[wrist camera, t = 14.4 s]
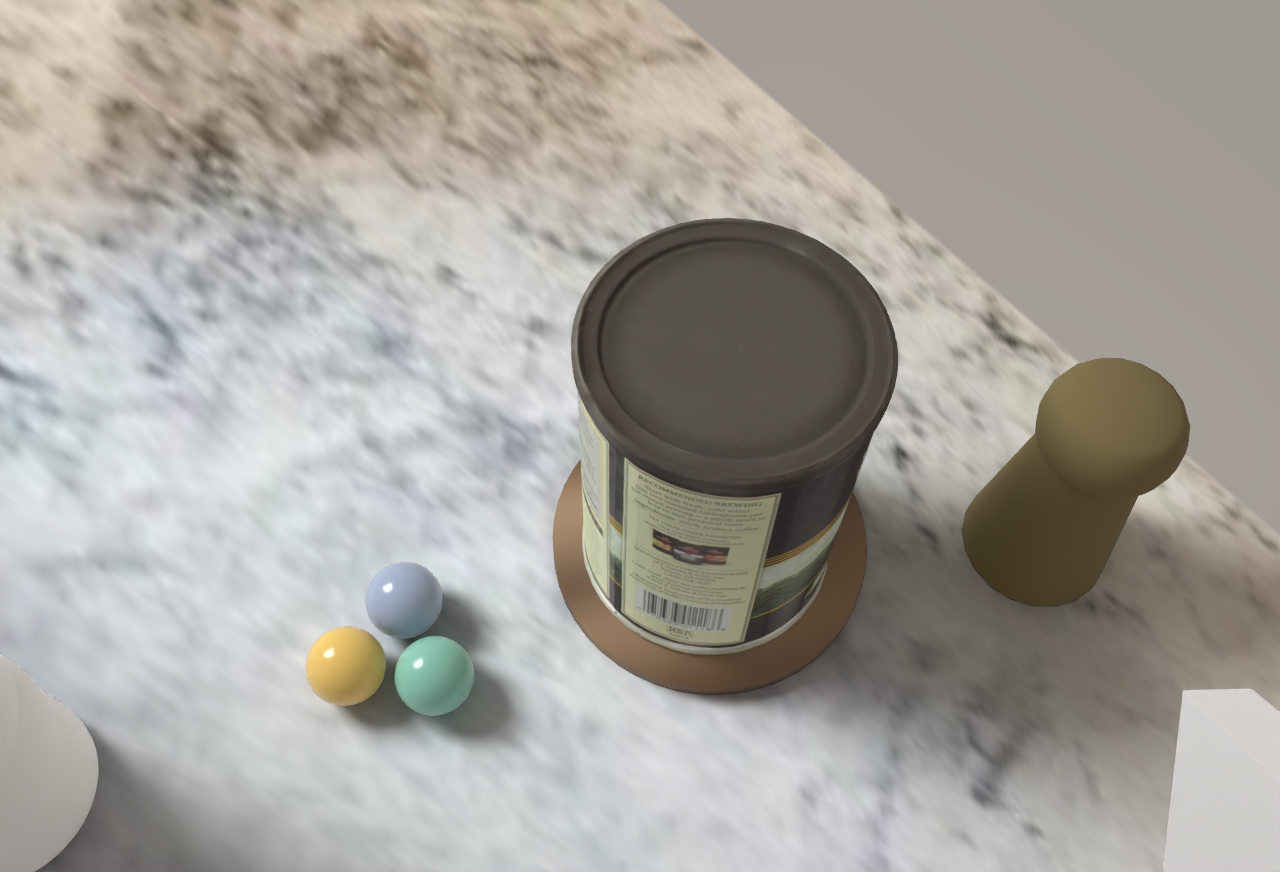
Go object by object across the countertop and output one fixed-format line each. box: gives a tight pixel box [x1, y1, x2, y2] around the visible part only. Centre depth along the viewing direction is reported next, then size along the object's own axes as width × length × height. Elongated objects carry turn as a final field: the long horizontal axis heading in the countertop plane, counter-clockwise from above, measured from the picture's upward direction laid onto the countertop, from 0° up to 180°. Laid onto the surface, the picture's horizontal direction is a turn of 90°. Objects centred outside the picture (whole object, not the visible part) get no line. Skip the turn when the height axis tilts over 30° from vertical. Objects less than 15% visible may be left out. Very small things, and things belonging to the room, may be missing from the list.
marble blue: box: [365, 562, 443, 639], centre depth 48 cm, size 3×3×3 cm
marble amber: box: [306, 626, 386, 706], centre depth 46 cm, size 3×3×3 cm
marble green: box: [395, 636, 474, 716], centre depth 46 cm, size 3×3×3 cm
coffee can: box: [571, 218, 898, 655], centre depth 44 cm, size 10×10×14 cm
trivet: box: [553, 460, 867, 695], centre depth 51 cm, size 13×13×1 cm
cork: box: [962, 358, 1190, 606], centre depth 47 cm, size 6×6×11 cm
